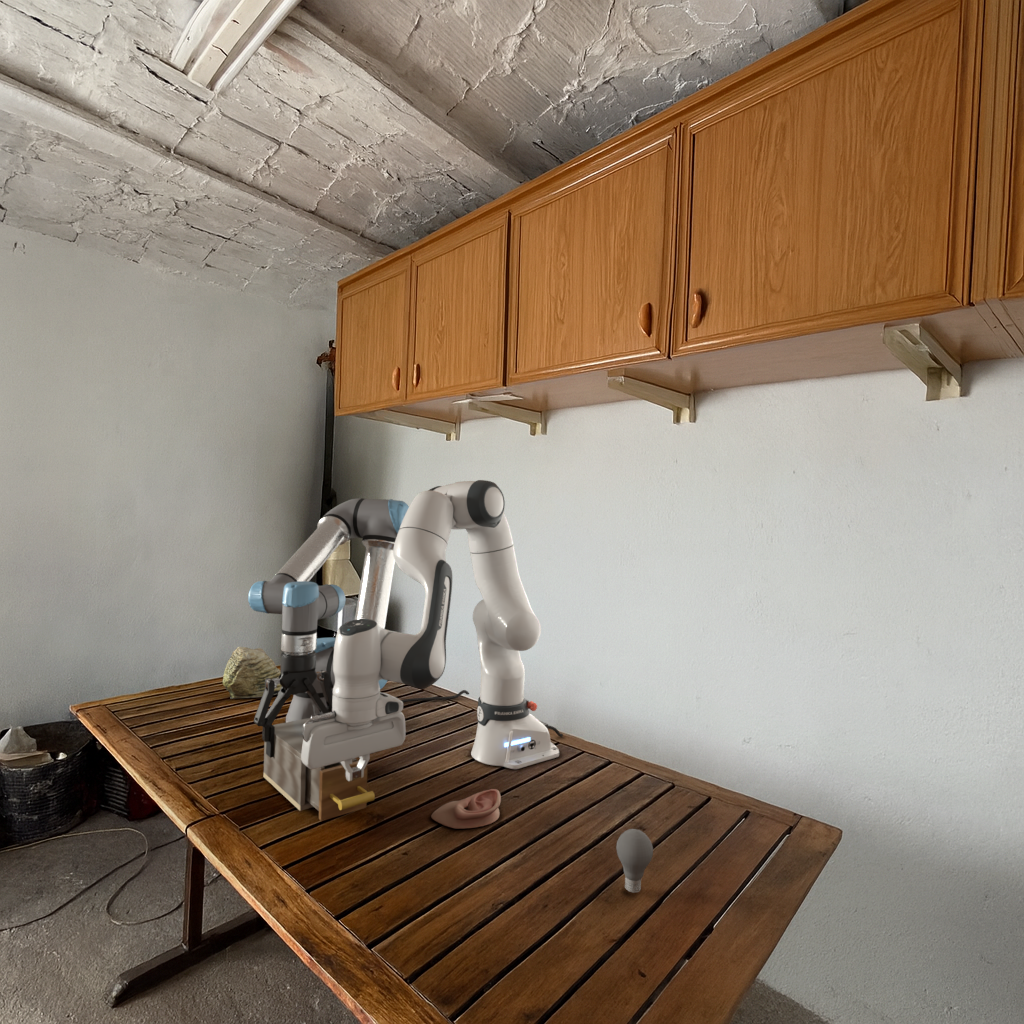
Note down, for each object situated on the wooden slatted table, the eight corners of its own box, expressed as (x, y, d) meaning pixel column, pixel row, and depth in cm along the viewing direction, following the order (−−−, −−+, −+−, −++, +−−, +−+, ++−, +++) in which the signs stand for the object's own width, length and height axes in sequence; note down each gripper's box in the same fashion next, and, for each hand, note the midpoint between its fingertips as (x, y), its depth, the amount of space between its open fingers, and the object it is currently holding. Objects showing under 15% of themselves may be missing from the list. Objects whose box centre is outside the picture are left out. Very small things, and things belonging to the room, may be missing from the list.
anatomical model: (426, 804, 124) (444, 779, 135) (425, 824, 124) (443, 798, 135) (492, 814, 121) (505, 787, 132) (491, 834, 121) (504, 806, 133)
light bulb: (610, 879, 108) (613, 822, 108) (644, 879, 109) (647, 822, 109) (619, 902, 102) (622, 840, 102) (655, 901, 103) (658, 840, 103)
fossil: (218, 695, 195) (220, 647, 195) (278, 685, 208) (279, 640, 207) (228, 703, 189) (230, 653, 188) (289, 692, 201) (290, 645, 201)
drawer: (380, 818, 122) (381, 770, 122) (334, 833, 115) (335, 782, 116) (324, 775, 141) (325, 733, 141) (282, 786, 135) (283, 743, 135)
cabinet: (349, 796, 133) (351, 742, 133) (300, 811, 126) (301, 754, 126) (309, 765, 149) (310, 717, 149) (263, 776, 142) (264, 726, 142)
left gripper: (251, 661, 131) (247, 767, 132) (354, 648, 146) (350, 743, 147) (239, 654, 137) (236, 755, 137) (340, 642, 152) (336, 733, 152)
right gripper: (310, 723, 111) (308, 800, 112) (410, 700, 125) (408, 770, 125) (296, 713, 116) (294, 787, 116) (394, 692, 129) (392, 759, 130)
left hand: (295, 749), depth 142 cm, fingers closed on cabinet, 11 cm apart
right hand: (354, 778), depth 121 cm, fingers closed
